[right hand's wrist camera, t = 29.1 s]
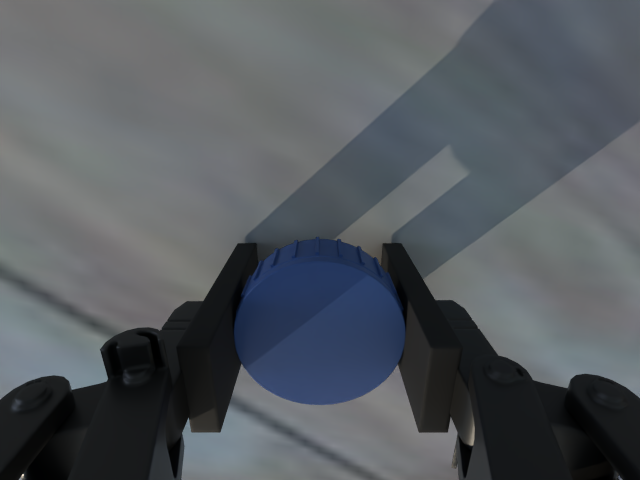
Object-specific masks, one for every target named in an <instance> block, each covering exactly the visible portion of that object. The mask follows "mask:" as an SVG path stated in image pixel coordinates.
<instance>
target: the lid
mask: <svg viewBox="0 0 640 480" xmlns="http://www.w3.org/2000/svg"><path fill="white" fill-rule="evenodd" d="M241 297H242V298H241V301H240V303H239V306H238V308H237V311H236V318H235V321H234V342H235V348H236V352H237V354H238V357H239V359H240V361H241V363H242V365H243V367H244V368H245V369H246V371H247V372H248V373H249V375H250V376H251V377H252V378H253V379H254V380H255V381H256V382H257V383H258V384H260V385H261V386H262V387H263V388H265V389H266V390H268V391H270V392H271V393H273V394H275V395H277V396H279V397H281V398H284V399H287V400H290V401H293V402H298V403H302V404H310V405H329V404H337V403H343V402H346V401H350V400H353V399H355V398H358V397H360V396H363V395H365V394H366V393H368V392H370V391H372V390H373V389H375V388H376V387H378V386H379V385H380V384H381V383H382V382H383V381H385V380H386V379H387V378H388V376H389V375H390V374H391V373H392V372H393V370H394V369H395V367H396V366H397V364H398V362H399V360H400V358H401V356H402V353H403V350H404V344H405V334H406V325H405V319H404V316H403V313H402V312H403V311H404V309H403V306H402V304H401V301H400V299H399V296H398V294H397V291H396V289H395V287H394V284H393V282H392V279H391V277H390V275H389V273H388V272H387V273H385V271H384V270H383V268H382V267H381V266H380V265H379V262H378V260H377V258H376V257H375V258H374V259H373V258H372V257H371V256H370V255H368V254H367V253H365V252H364V251H362V250H361V247H360V246H358V247H354V246H352V245H350V244H347V243H343V242H341V239H338V240H337V241H335V240H329V239H319V237H316V239H313V240H305V241H300V242H298V240H295V241H294V243H293V244H290V245H287V246H285V247H283V248H281V249H278V248H276V249H275V251H274V253H273V254H271V255H270V256H269V257H267V258H266V259H265V260H264V261H262V260H261V261H260V262H259V264H258V267H257V269H256V270H255V272H254V274H253V275H252V276H251V275H250V276H249V277H248V280H247V282H246V285H245V287H244V289H243V292H242V294H241Z"/></svg>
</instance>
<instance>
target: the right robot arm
mask: <svg viewBox="0 0 640 480" xmlns="http://www.w3.org/2000/svg"><path fill="white" fill-rule="evenodd" d="M257 267H258V260H257V246H256V243H238V244H237V246H236V247H235V249H234V251H233V252H232V254H231V256H230V257H229V259H228V261H227V263H226V264H225V266H224V268H223V269H222V271H221V273H220V274H219V276H218V278H217V279H216V281H215V283H214V284H213V286H212V288H211V289H210V291H209V293H208V294H207V296H206V298H205V299H204V301H187V302H185V303H184V304H182V305H181V306H180V307H178V308H177V309H175V310H174V312H173V313H172V314H171V316H170V317H169V319H168V322H166V323H165V324H164V326H163V327H162V330H160V331H159V330H158V329H154V328H149V327H148V328H136V329H132V330H128V331H125V332H123V333H120V334H118V335H116V336H114V337H113V338H111V339H110V340H108V341H107V342H106V343H105V344H104V345H103V346H102V348H101V349H100V351H101V354H102V358H103V362H104V365H105V369H106V372H107V376H108V380H107V382H104V383H100V384H96V385H92V386H87V387H83V388H79V389H74V390H72V389H71V386H70V383H69V381H68V380H67V379H66V378H64V377H61V376H47V377H41V378H38V379H35V380H31V381H29V382H26V383H25V384H23V385H21V386H19V387H17V388H15V389H13V390H12V391H11V392H9V393H8V394H7V395H6V396H4V397H3V398H2V399H1V400H0V480H19V478H20V477H21V478H22V480H181V475H182V465H183V455H184V441H183V435H182V432H183V429H184V427H185V425H186V422H187V420H188V418H189V421H190V427H191V432H221V429H222V425H223V422H224V419H225V416H226V412H227V409H228V406H229V403H230V399H231V396H232V393H233V389H234V386H235V383H236V380H237V376H238V373H239V370H240V366H241V361H240V359H239V357H238V354H237V352H236V348H235V342H234V321H235V318H236V311H237V308H238V306H239V303H240V301H241V298H242V297H241V294H242V292H243V289H244V287H245V285H246V282H247V280H248V277H249V276H250V275H251V276H252V275H253V274H254V272H255V270H256V269H257ZM381 267H382V268H383V270H384V271H385V273H387V272H388V273H389V275H390V277H391V279H392V282H393V284H394V287H395V289H396V291H397V294H398V296H399V299H400V301H401V304H402V306H403V309H404V311H403V312H402V313H403V316H404V319H405V325H406V334H405V344H404V350H403V353H402V356H401V358H400V360H399V362H398V366H399V369H400V372H401V376H402V379H403V382H404V385H405V389H406V392H407V395H408V398H409V402H410V405H411V408H412V412H413V415H414V418H415V421H416V425H417V428H418V431H419V432H448V428H449V423H450V417H451V418H452V420H453V422H454V425H455V427H456V429H457V432H458V435H457V440H456V445H455V450H454V455H453V461H452V468H456V467H457V464H458V474H459V480H619V479H618V476H620V477H621V478H622V479H623V480H640V398H639V397H638V396H636V395H635V394H634V393H632V392H631V391H630V390H629V389H627V388H626V387H624V386H622V385H620V384H618V383H616V382H614V381H613V380H610V379H607V378H604V377H601V376H598V375H590V374H581V375H576V376H575V377H573V378H572V379H571V380H570V383H569V386H568V388H563V387H559V386H554V385H550V384H545V383H541V382H537V381H534V380H532V378H531V376H530V375H529V373H528V372H527V370H526V369H524V368H523V367H522V366H521V365H519V364H518V363H516V362H514V361H512V360H510V359H508V358H505V357H502V356H498V355H497V353H496V352H495V350H494V349H493V348H492V346H491V345H490V343H489V342H488V341H487V339H486V338H485V336H484V335H483V334H482V332H481V331H480V329H478V327H477V325H476V324H475V322H474V321H472V318H471V317H470V315H469V314H468V313H467V311H466V310H465V309H464V308H463V307H461V306H460V305H459V304H457V303H456V302H454V301H453V300H435V299H434V297H433V296H432V294H431V292H430V291H429V289H428V287H427V286H426V284H425V282H424V281H423V279H422V277H421V276H420V274H419V272H418V271H417V269H416V267H415V266H414V264H413V262H412V261H411V259H410V257H409V256H408V254H407V252H406V251H405V249H404V247H403V246H402V244H401V243H383V248H382V262H381Z"/></svg>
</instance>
